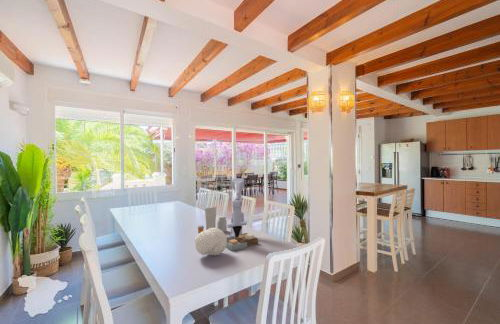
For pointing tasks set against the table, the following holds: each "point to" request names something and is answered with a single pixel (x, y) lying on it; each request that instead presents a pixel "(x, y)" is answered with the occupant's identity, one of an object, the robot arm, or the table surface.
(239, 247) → the tray
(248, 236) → the tile
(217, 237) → the cauliflower
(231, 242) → the tile
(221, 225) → the toiletry set
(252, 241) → the board
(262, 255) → the table surface
